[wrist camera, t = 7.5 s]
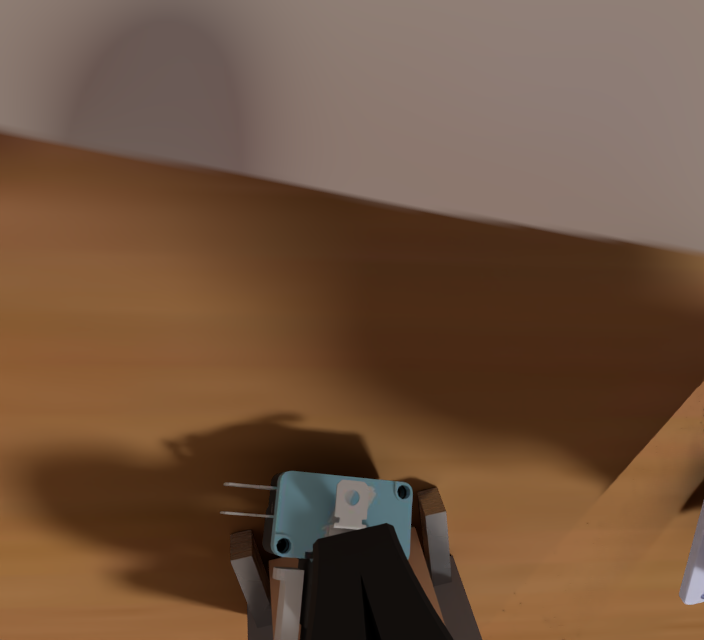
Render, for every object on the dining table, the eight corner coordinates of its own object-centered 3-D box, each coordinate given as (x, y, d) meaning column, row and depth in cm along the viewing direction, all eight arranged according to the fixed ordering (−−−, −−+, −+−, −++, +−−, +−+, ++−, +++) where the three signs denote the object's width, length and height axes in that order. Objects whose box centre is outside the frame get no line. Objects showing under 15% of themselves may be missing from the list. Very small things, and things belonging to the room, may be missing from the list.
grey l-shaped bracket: (447, 484, 24) (499, 620, 19) (453, 570, 27) (500, 705, 22) (220, 536, 24) (217, 689, 19) (253, 618, 27) (257, 767, 22)
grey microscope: (219, 470, 23) (174, 789, 20) (238, 460, 18) (183, 880, 15) (386, 487, 25) (369, 781, 22) (444, 481, 20) (434, 860, 17)
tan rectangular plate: (415, 526, 25) (447, 632, 21) (416, 539, 25) (448, 645, 22) (268, 560, 24) (275, 674, 21) (273, 572, 25) (280, 686, 21)
